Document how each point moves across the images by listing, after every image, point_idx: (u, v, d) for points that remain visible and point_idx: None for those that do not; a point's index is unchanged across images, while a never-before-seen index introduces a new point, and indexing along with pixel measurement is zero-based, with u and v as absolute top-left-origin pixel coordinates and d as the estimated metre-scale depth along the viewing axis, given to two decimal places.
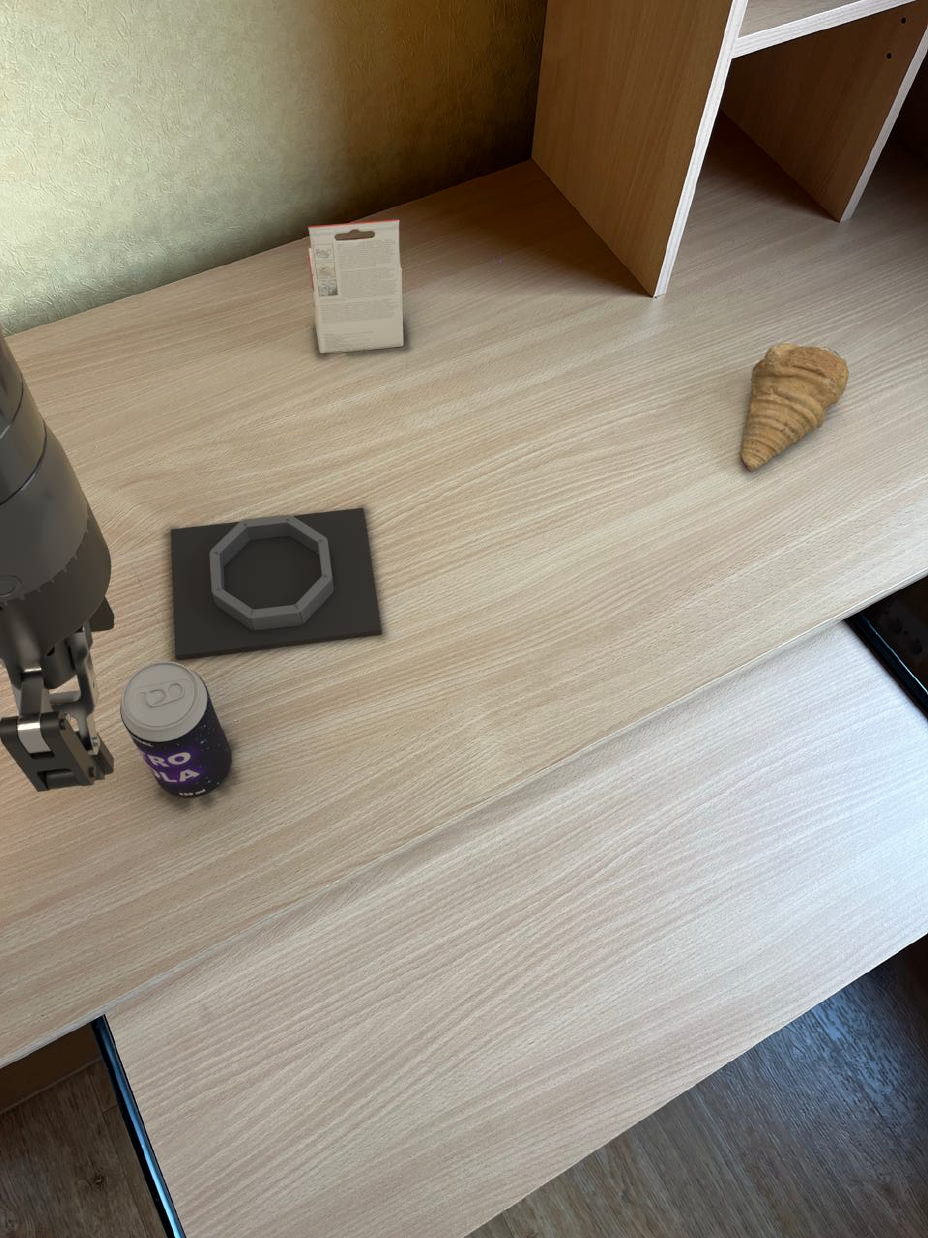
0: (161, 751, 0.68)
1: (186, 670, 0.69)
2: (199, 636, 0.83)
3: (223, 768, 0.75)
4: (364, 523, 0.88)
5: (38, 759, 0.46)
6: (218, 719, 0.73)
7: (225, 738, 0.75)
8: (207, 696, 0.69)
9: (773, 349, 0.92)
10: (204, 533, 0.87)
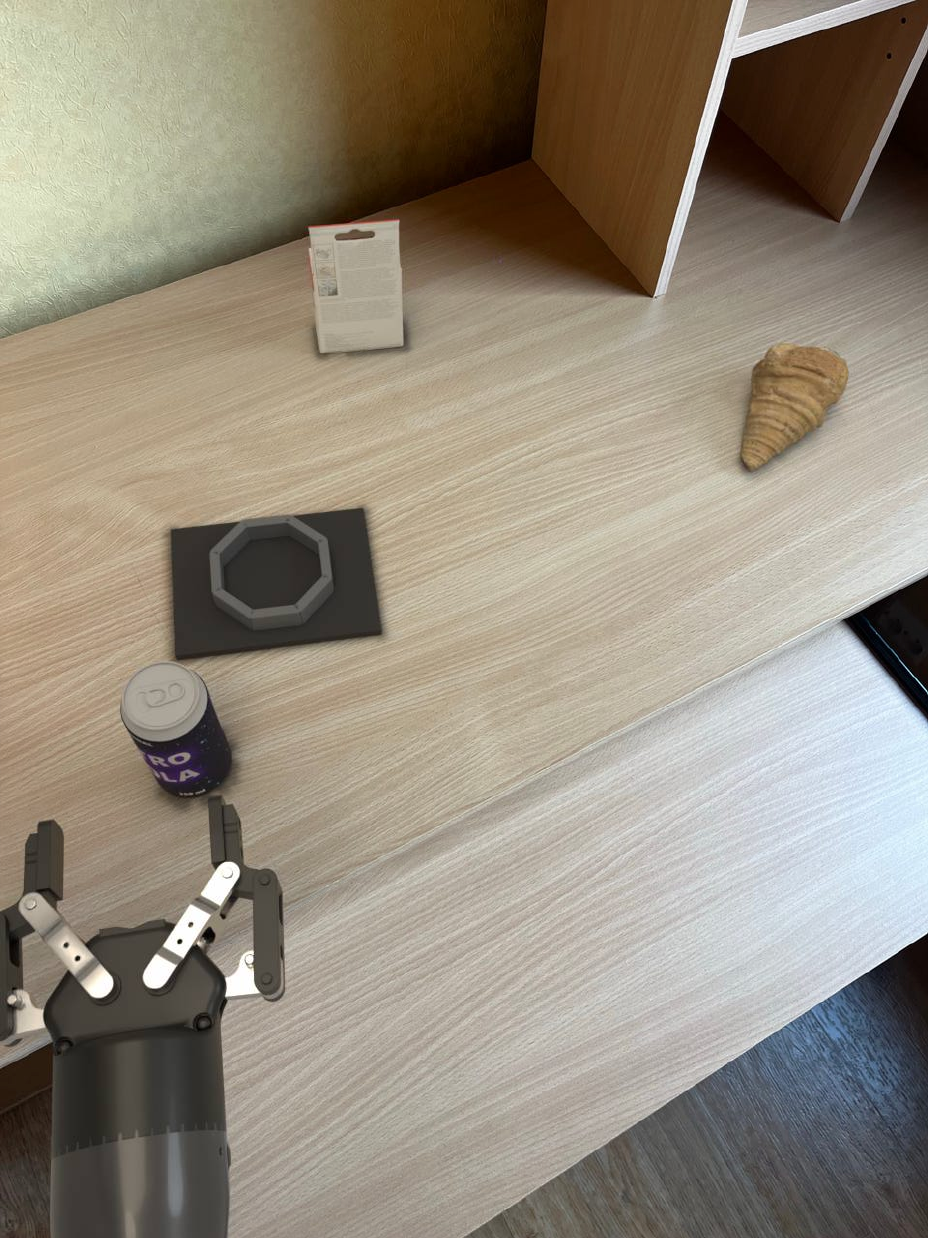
0: (161, 751, 0.68)
1: (186, 670, 0.69)
2: (199, 636, 0.83)
3: (223, 768, 0.75)
4: (364, 523, 0.88)
5: None
6: (218, 719, 0.73)
7: (225, 738, 0.75)
8: (207, 696, 0.69)
9: (773, 349, 0.92)
10: (204, 533, 0.87)
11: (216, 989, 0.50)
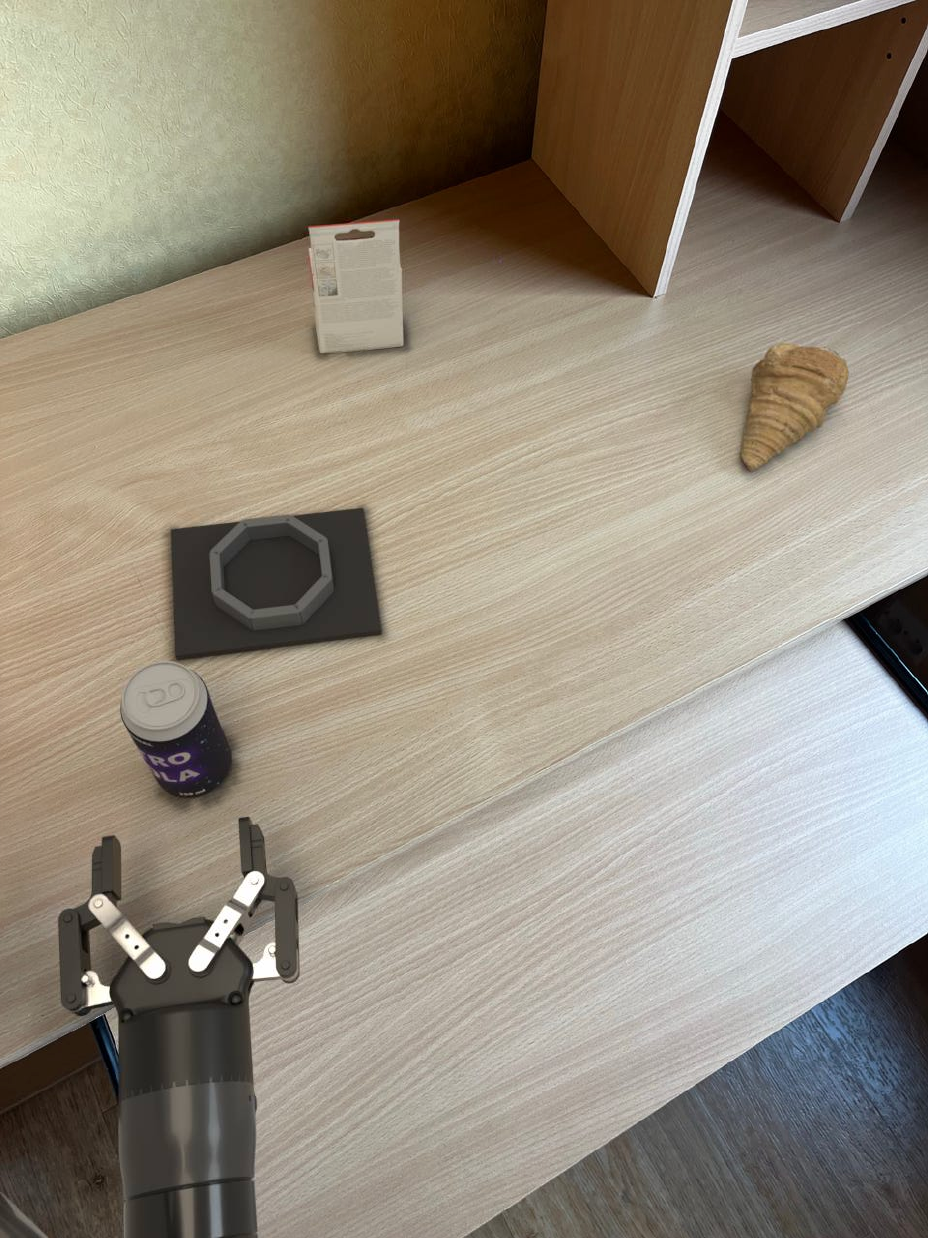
0: (161, 751, 0.68)
1: (186, 670, 0.69)
2: (199, 636, 0.83)
3: (223, 768, 0.75)
4: (364, 523, 0.88)
5: None
6: (218, 719, 0.73)
7: (225, 738, 0.75)
8: (207, 696, 0.69)
9: (773, 349, 0.92)
10: (204, 533, 0.87)
11: (246, 973, 0.63)
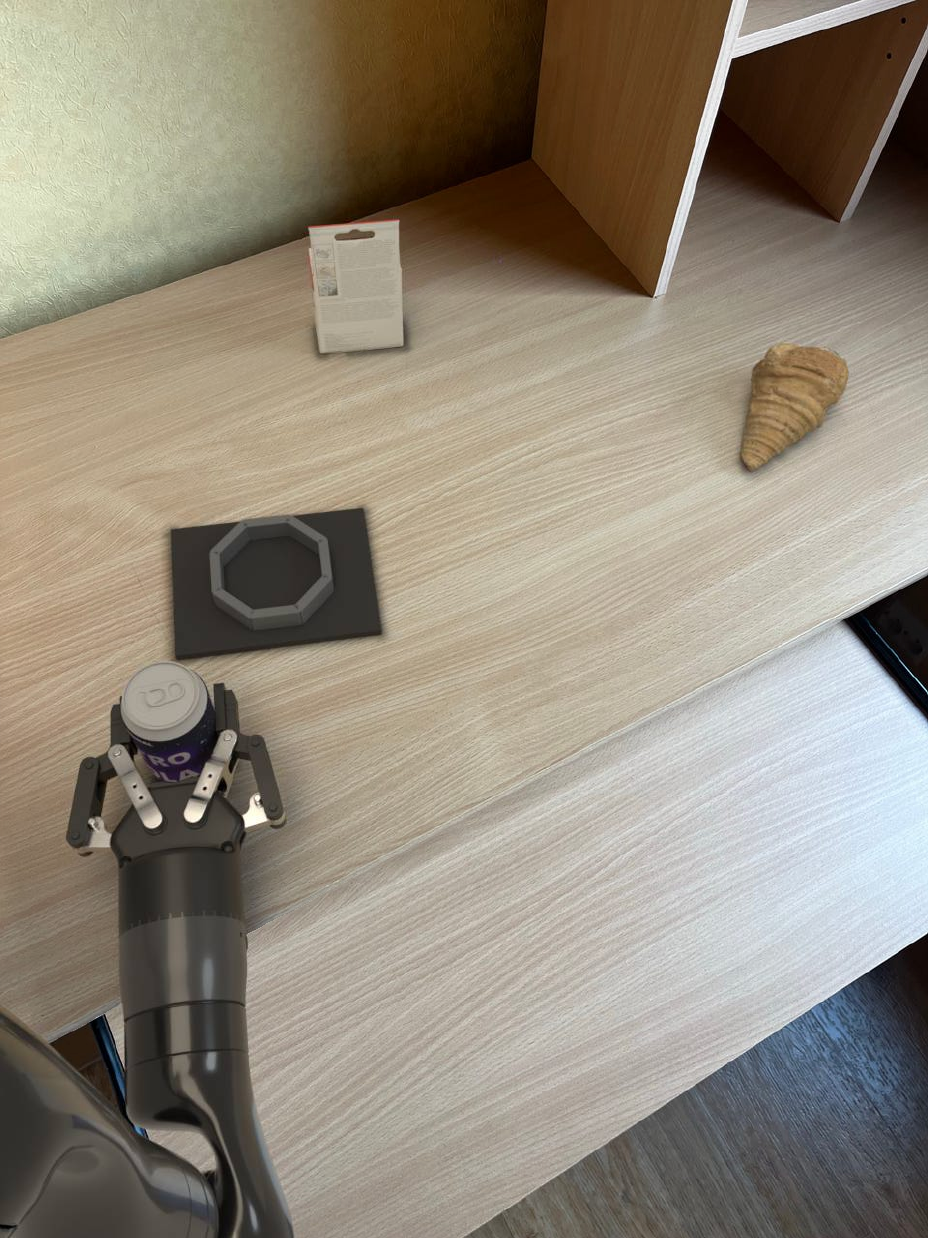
0: (161, 751, 0.68)
1: (186, 670, 0.69)
2: (199, 636, 0.83)
3: None
4: (364, 523, 0.88)
5: None
6: None
7: None
8: (207, 696, 0.69)
9: (773, 349, 0.92)
10: (204, 533, 0.87)
11: (237, 825, 0.68)
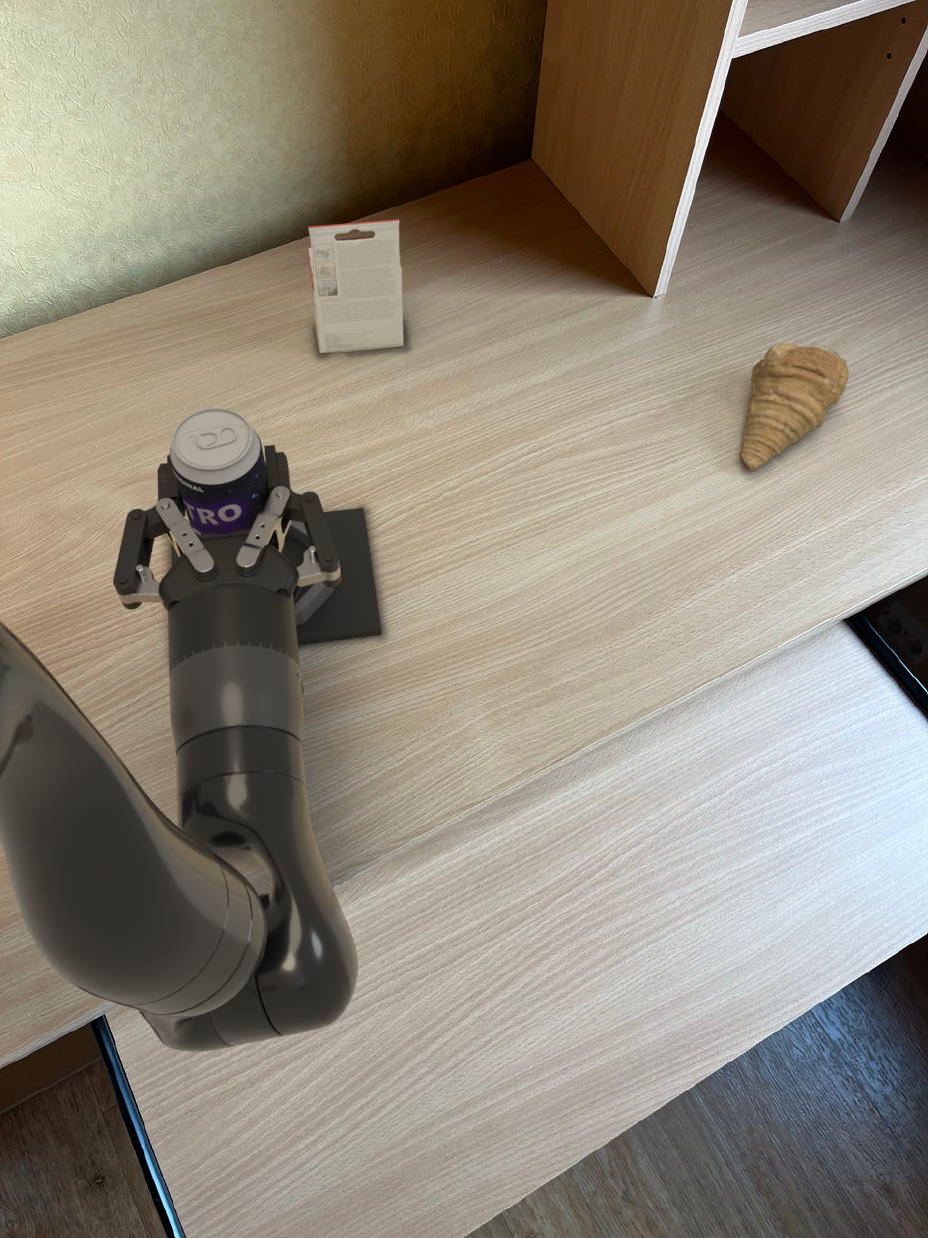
0: (212, 500, 0.65)
1: (238, 417, 0.66)
2: None
3: None
4: (364, 523, 0.88)
5: None
6: None
7: None
8: (260, 444, 0.66)
9: (773, 349, 0.92)
10: None
11: (291, 574, 0.65)
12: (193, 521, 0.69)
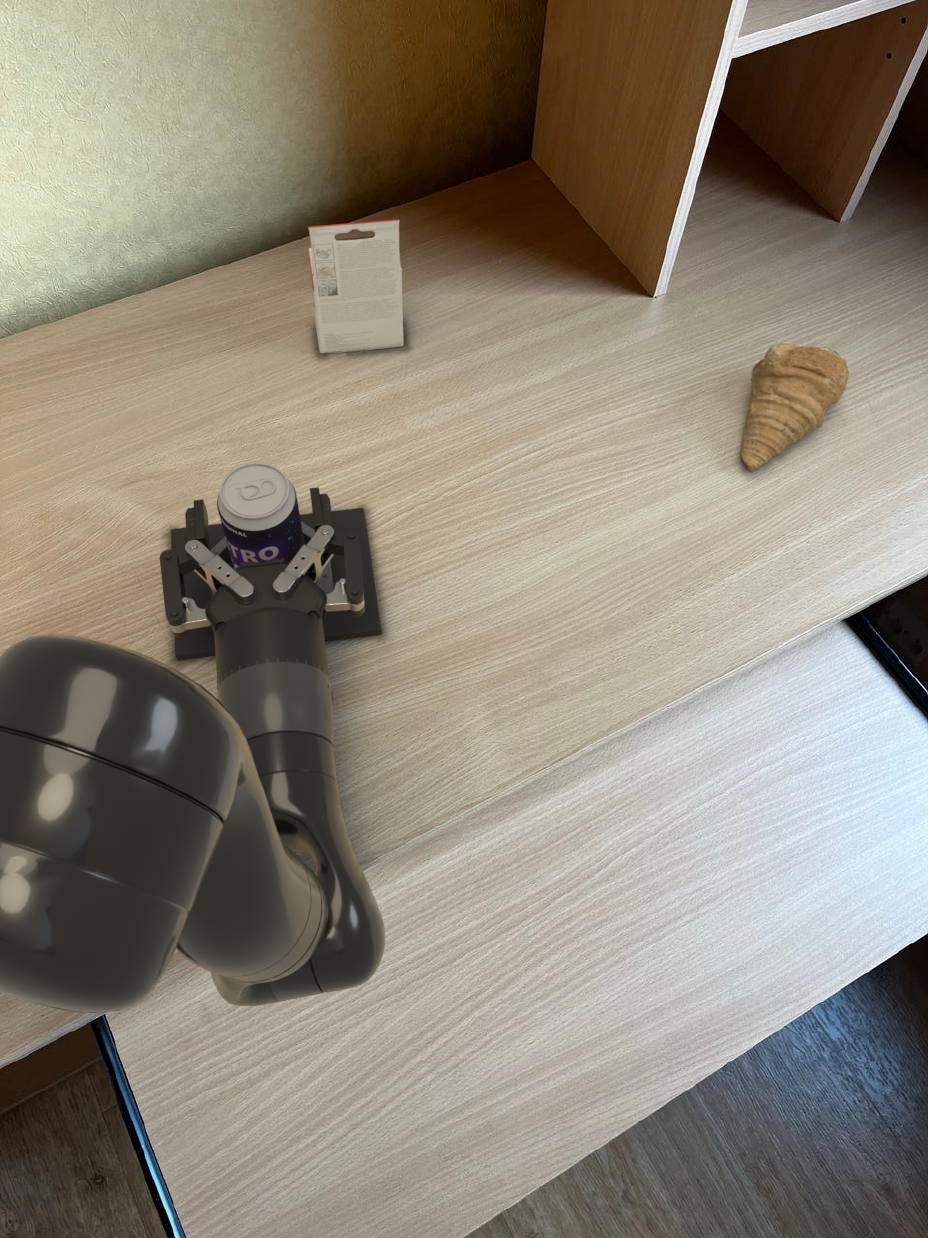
0: (254, 543, 0.76)
1: (276, 471, 0.76)
2: (199, 636, 0.83)
3: None
4: (364, 523, 0.88)
5: None
6: None
7: None
8: (295, 494, 0.76)
9: (773, 349, 0.92)
10: None
11: (321, 598, 0.74)
12: (236, 559, 0.79)
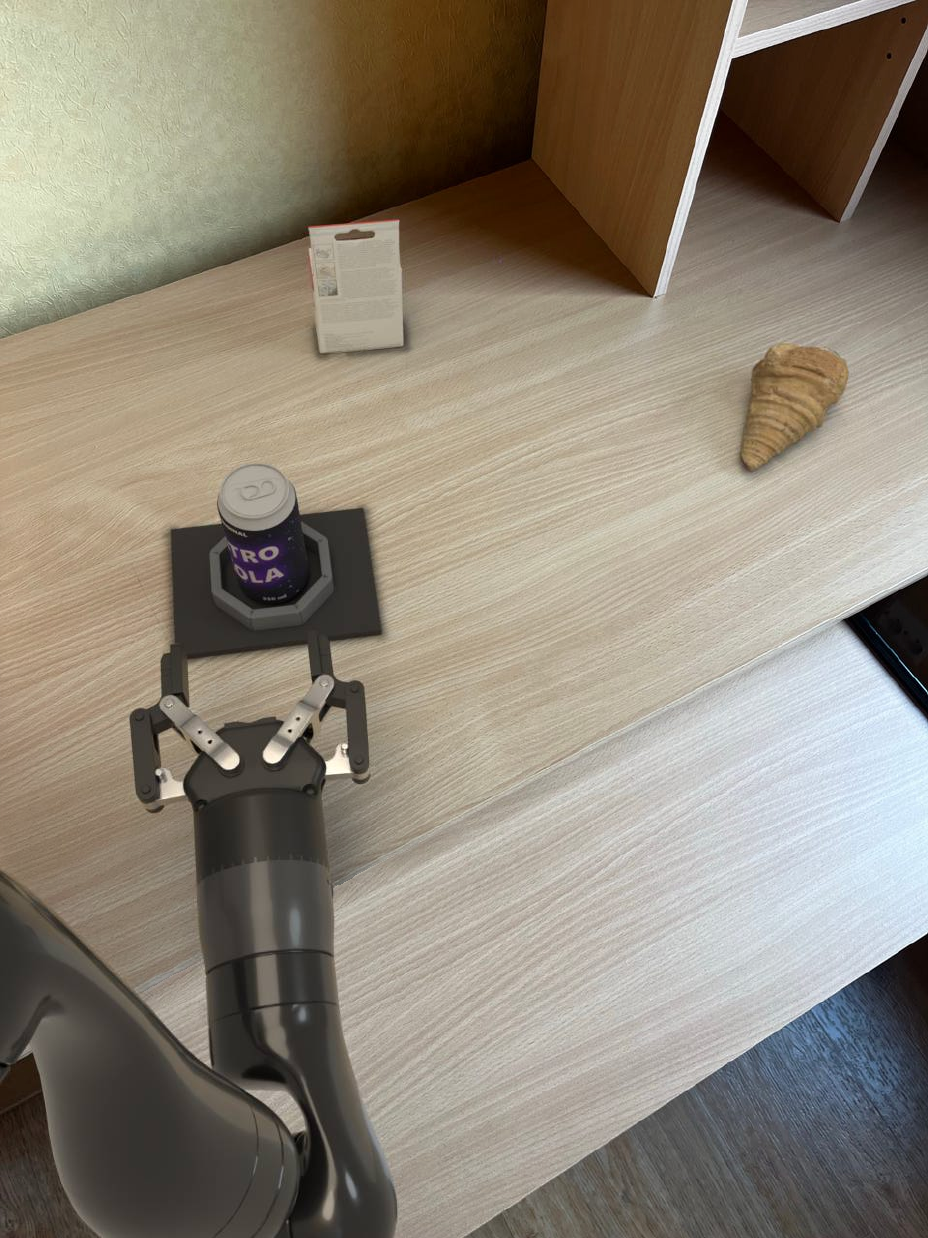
0: (254, 543, 0.76)
1: (276, 471, 0.76)
2: (199, 636, 0.83)
3: (302, 575, 0.83)
4: (364, 523, 0.88)
5: None
6: (301, 525, 0.80)
7: None
8: (295, 494, 0.76)
9: (773, 349, 0.92)
10: (204, 533, 0.87)
11: (319, 767, 0.63)
12: (236, 559, 0.79)
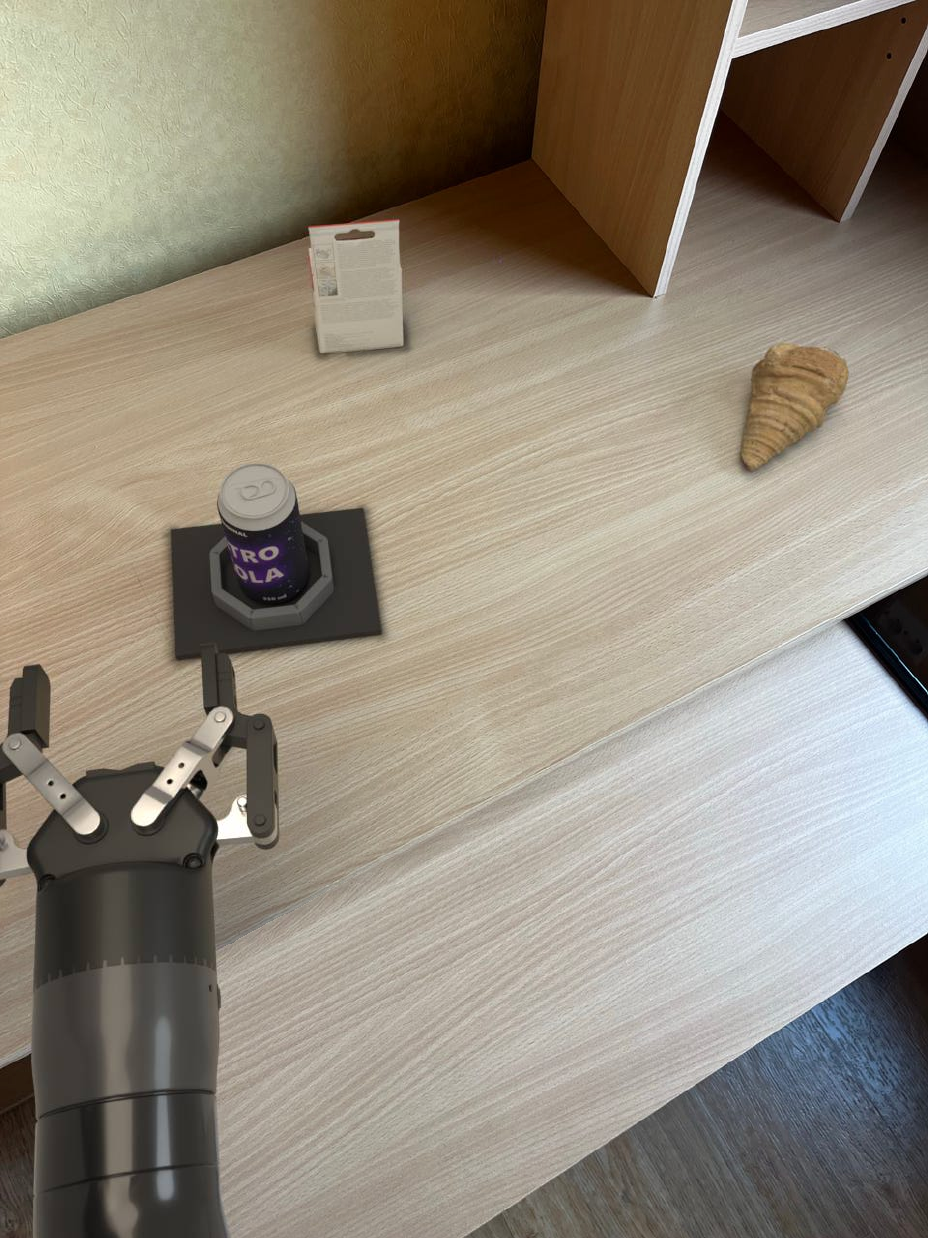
0: (254, 543, 0.76)
1: (276, 471, 0.76)
2: (199, 636, 0.83)
3: (302, 575, 0.83)
4: (364, 523, 0.88)
5: None
6: (301, 525, 0.80)
7: None
8: (295, 494, 0.76)
9: (773, 349, 0.92)
10: (204, 533, 0.87)
11: (207, 830, 0.48)
12: (236, 559, 0.79)
